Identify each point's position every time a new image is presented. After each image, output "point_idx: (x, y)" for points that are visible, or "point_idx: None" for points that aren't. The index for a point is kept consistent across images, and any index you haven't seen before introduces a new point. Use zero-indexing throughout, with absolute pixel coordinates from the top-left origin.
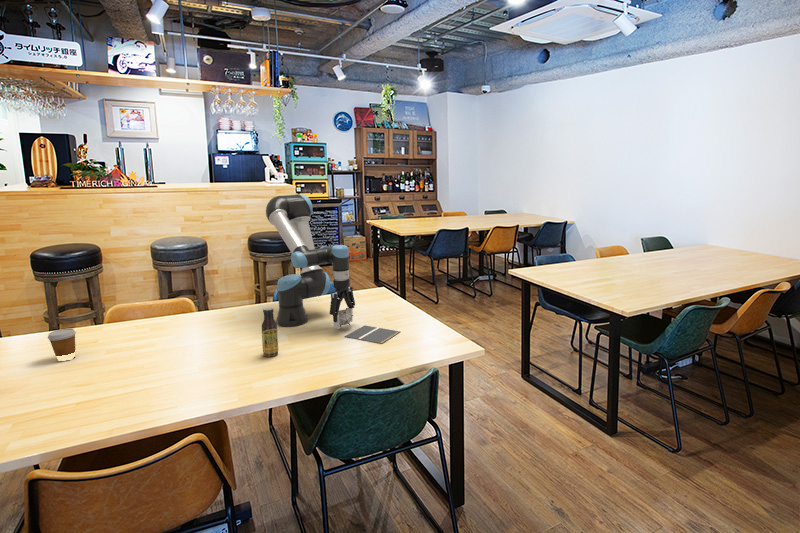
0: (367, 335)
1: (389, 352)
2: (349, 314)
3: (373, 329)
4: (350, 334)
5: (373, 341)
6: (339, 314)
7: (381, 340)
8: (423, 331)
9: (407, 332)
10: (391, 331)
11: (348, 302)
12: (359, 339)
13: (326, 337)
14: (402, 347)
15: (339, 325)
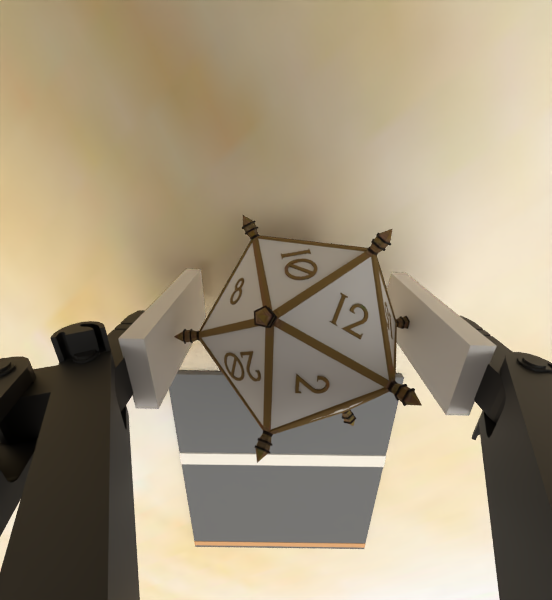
0: (247, 467)
1: (144, 581)
2: (321, 418)
3: (347, 451)
4: (211, 388)
5: (192, 517)
6: (231, 354)
7: (222, 534)
8: (402, 592)
9: (371, 560)
10: (350, 523)
11: (502, 513)
12: (181, 457)
13: (86, 266)
14: (210, 593)
15: (198, 328)
